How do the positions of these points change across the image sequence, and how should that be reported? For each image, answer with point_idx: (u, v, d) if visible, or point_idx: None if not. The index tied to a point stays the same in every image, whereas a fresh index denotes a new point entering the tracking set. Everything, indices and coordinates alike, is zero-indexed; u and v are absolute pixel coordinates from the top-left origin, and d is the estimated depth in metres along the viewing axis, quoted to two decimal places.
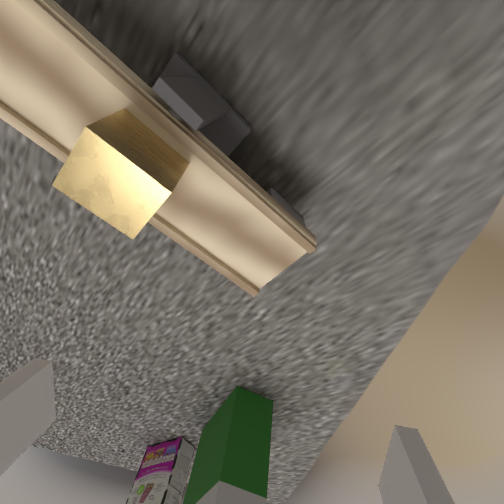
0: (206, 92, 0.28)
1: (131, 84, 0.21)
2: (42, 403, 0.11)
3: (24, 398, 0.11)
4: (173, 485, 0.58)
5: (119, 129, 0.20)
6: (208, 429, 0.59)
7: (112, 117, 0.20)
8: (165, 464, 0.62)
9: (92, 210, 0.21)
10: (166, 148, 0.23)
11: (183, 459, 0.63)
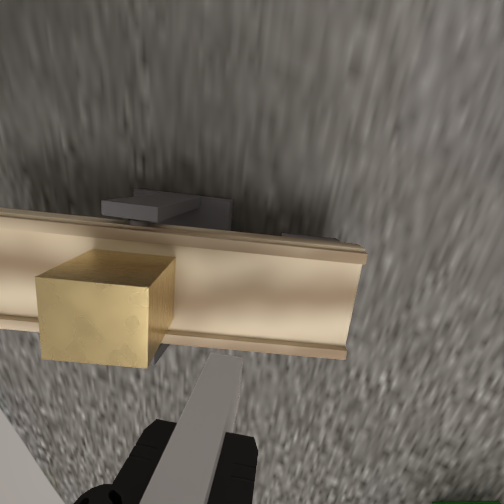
0: (169, 196, 0.27)
1: (86, 224, 0.21)
2: None
3: None
4: None
5: (82, 264, 0.18)
6: None
7: (74, 259, 0.19)
8: None
9: (90, 361, 0.17)
10: (144, 257, 0.21)
11: None
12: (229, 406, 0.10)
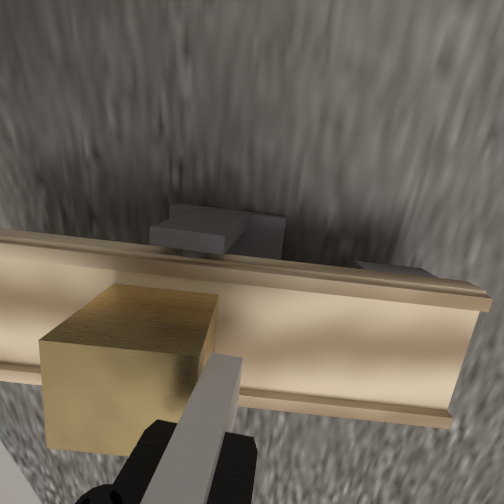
0: (217, 214, 0.23)
1: (127, 255, 0.16)
2: None
3: None
4: None
5: (102, 311, 0.14)
6: None
7: (92, 303, 0.14)
8: None
9: (114, 451, 0.12)
10: (180, 296, 0.16)
11: None
12: (228, 406, 0.10)
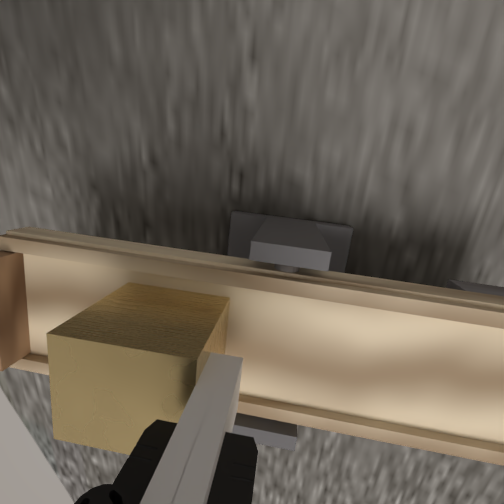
0: (287, 224, 0.22)
1: (223, 267, 0.16)
2: None
3: None
4: None
5: (111, 309, 0.14)
6: None
7: (104, 300, 0.15)
8: None
9: (114, 449, 0.12)
10: (190, 298, 0.16)
11: None
12: (229, 406, 0.10)
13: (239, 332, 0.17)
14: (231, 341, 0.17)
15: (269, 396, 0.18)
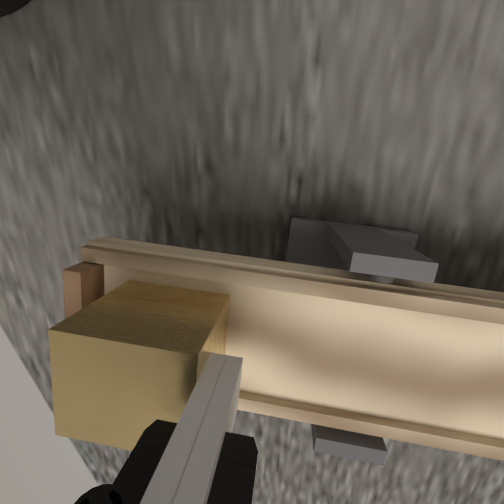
0: (357, 231, 0.22)
1: (317, 279, 0.16)
2: None
3: None
4: None
5: (113, 306, 0.14)
6: None
7: (105, 297, 0.15)
8: None
9: (116, 444, 0.13)
10: (191, 295, 0.16)
11: None
12: (229, 406, 0.10)
13: (329, 344, 0.17)
14: (319, 353, 0.17)
15: (356, 409, 0.17)
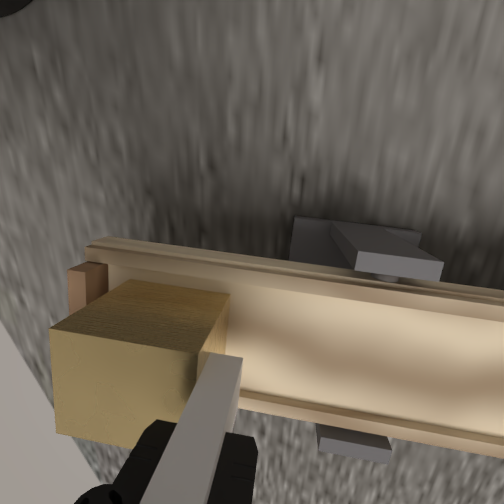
0: (360, 230, 0.22)
1: (322, 278, 0.16)
2: None
3: None
4: None
5: (113, 305, 0.14)
6: None
7: (105, 296, 0.15)
8: None
9: (116, 443, 0.13)
10: (191, 294, 0.16)
11: None
12: (229, 406, 0.10)
13: (333, 343, 0.17)
14: (324, 352, 0.17)
15: (361, 408, 0.17)
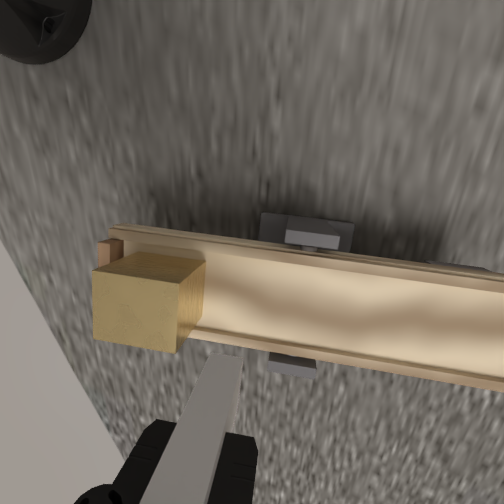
0: (305, 220, 0.30)
1: (265, 248, 0.24)
2: None
3: None
4: None
5: (128, 262, 0.22)
6: None
7: (123, 259, 0.23)
8: None
9: (130, 343, 0.21)
10: (179, 260, 0.24)
11: None
12: (229, 406, 0.10)
13: (275, 294, 0.25)
14: (269, 301, 0.25)
15: (296, 341, 0.25)
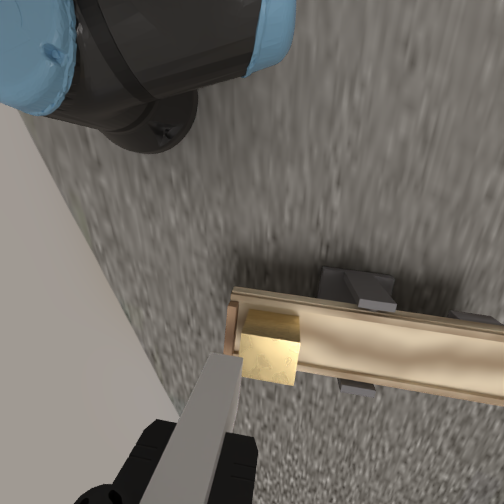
0: (360, 279, 0.40)
1: (343, 309, 0.34)
2: None
3: None
4: None
5: (254, 322, 0.33)
6: None
7: (248, 318, 0.34)
8: None
9: (262, 379, 0.31)
10: (282, 316, 0.35)
11: None
12: (229, 406, 0.10)
13: (348, 339, 0.35)
14: (343, 344, 0.36)
15: (361, 371, 0.36)
